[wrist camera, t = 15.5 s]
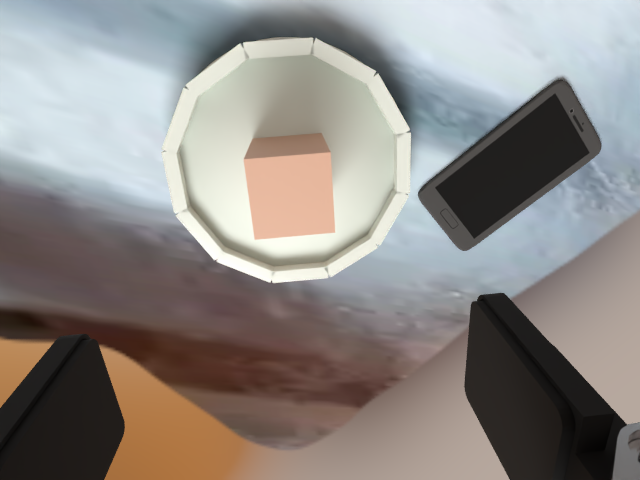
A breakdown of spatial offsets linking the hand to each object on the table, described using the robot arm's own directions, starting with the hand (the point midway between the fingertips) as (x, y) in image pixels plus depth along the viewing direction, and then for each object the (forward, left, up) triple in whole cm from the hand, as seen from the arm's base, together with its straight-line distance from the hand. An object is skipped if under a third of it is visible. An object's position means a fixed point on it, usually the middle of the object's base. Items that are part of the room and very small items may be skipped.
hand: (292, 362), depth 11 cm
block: (0, +1, -23) cm, 23 cm away
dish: (0, +1, -24) cm, 24 cm away
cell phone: (-18, +3, -25) cm, 31 cm away
